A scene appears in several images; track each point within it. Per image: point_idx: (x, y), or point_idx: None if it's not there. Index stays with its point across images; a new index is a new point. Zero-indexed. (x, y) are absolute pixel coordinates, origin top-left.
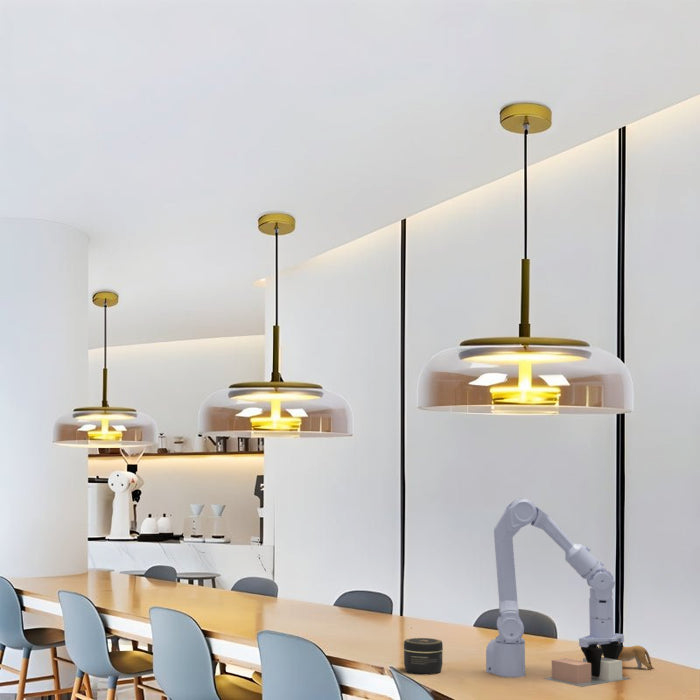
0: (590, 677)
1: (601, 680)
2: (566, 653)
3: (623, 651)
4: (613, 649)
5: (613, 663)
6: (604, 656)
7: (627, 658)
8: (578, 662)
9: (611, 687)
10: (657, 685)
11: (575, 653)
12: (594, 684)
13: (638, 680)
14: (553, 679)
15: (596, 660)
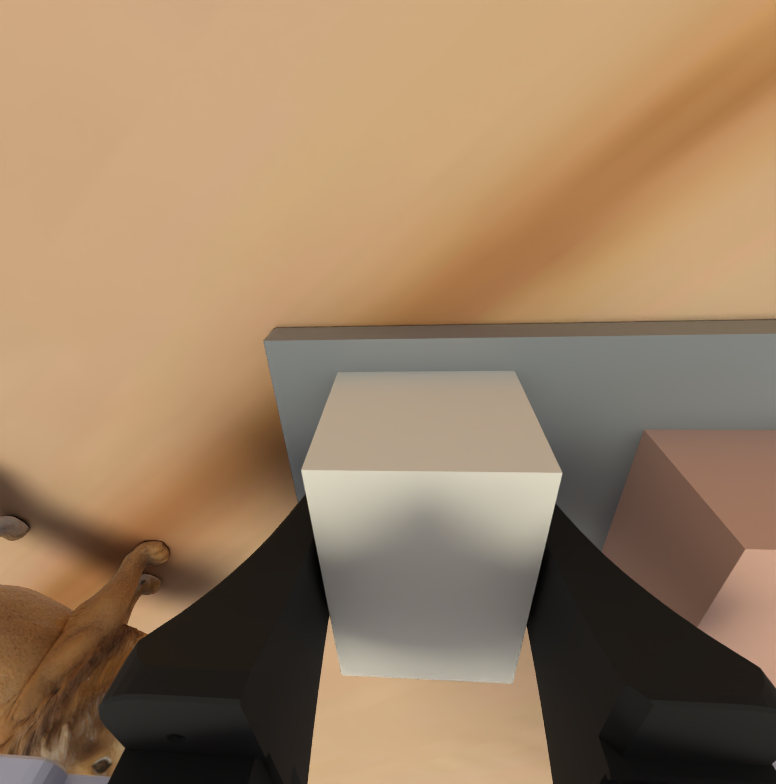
0: (673, 449)
1: (546, 412)
2: None
3: (4, 665)
4: (280, 668)
5: (464, 461)
6: (322, 636)
7: (18, 601)
8: None
9: (568, 292)
10: (115, 113)
11: None
12: (772, 338)
13: (157, 358)
14: None
15: (620, 574)
